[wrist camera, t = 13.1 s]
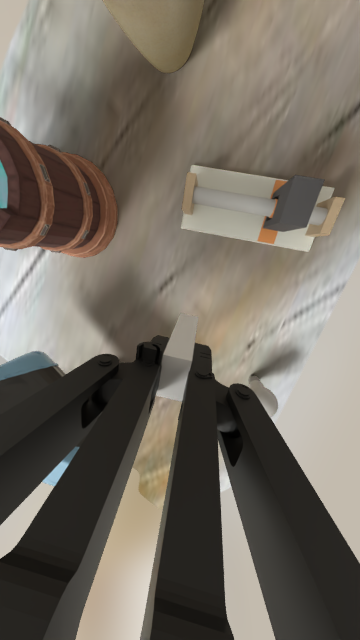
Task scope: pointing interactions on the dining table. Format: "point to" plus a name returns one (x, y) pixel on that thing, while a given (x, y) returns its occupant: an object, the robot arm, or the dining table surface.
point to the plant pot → (159, 28)
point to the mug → (52, 199)
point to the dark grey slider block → (294, 203)
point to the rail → (240, 218)
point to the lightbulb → (264, 395)
